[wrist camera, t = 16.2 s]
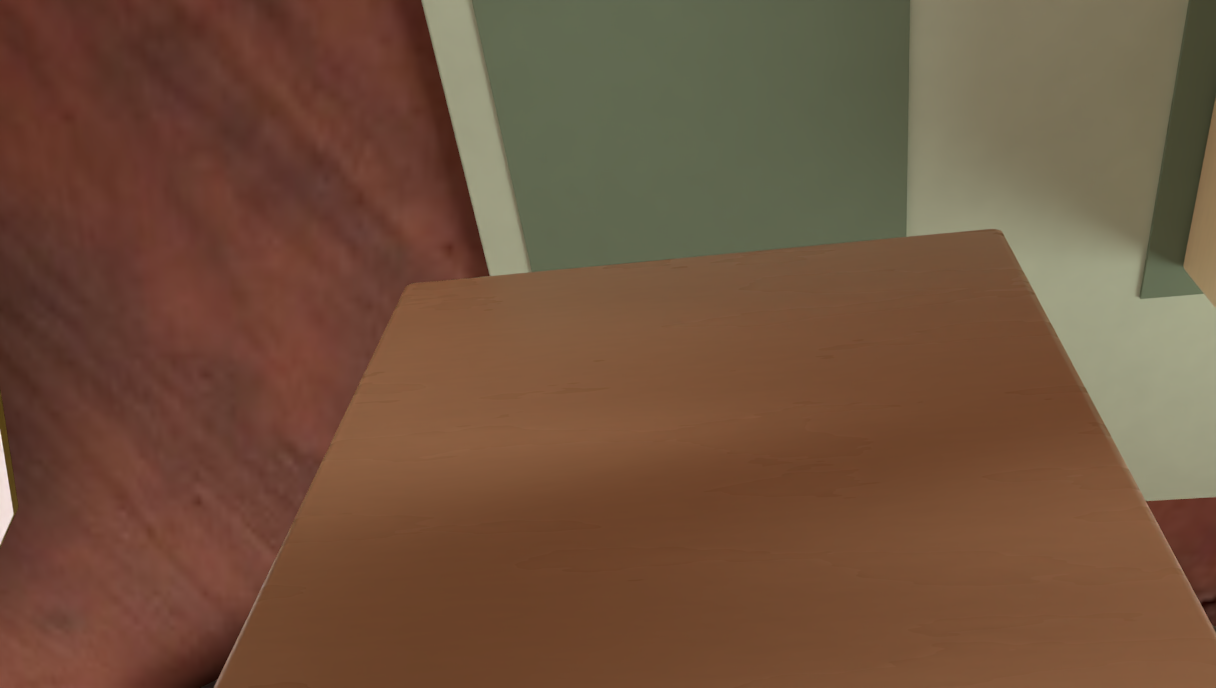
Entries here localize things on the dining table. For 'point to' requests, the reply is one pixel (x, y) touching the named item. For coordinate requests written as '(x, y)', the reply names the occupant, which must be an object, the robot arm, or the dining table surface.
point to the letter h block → (1204, 223)
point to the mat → (870, 158)
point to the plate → (6, 481)
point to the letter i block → (727, 490)
